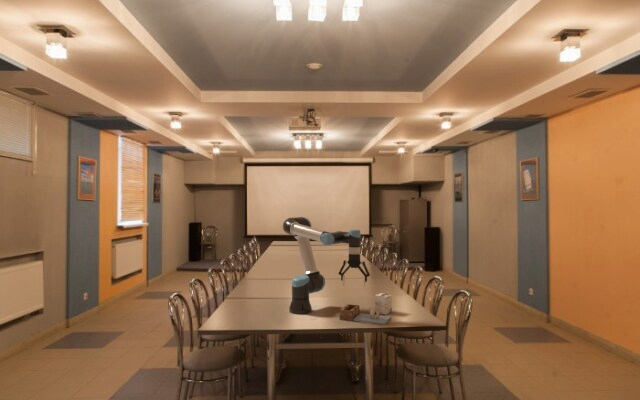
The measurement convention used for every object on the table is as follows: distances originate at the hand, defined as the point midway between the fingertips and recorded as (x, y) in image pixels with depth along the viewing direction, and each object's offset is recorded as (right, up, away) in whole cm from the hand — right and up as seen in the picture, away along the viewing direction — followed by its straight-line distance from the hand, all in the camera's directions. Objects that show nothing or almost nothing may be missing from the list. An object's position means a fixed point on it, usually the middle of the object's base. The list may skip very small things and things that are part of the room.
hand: (353, 286), depth 274 cm
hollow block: (-3, -19, -1) cm, 20 cm away
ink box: (+21, -20, +10) cm, 30 cm away
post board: (+11, -20, -7) cm, 23 cm away
